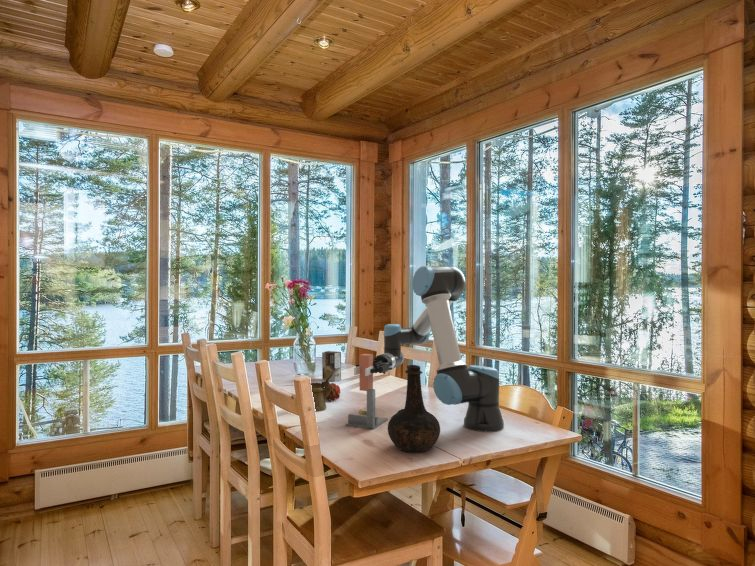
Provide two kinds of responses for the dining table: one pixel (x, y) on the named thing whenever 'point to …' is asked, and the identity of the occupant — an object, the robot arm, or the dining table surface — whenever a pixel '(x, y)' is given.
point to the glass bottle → (413, 418)
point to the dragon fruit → (333, 392)
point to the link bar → (365, 381)
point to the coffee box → (331, 365)
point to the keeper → (366, 415)
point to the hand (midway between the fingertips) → (360, 372)
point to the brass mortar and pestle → (321, 392)
